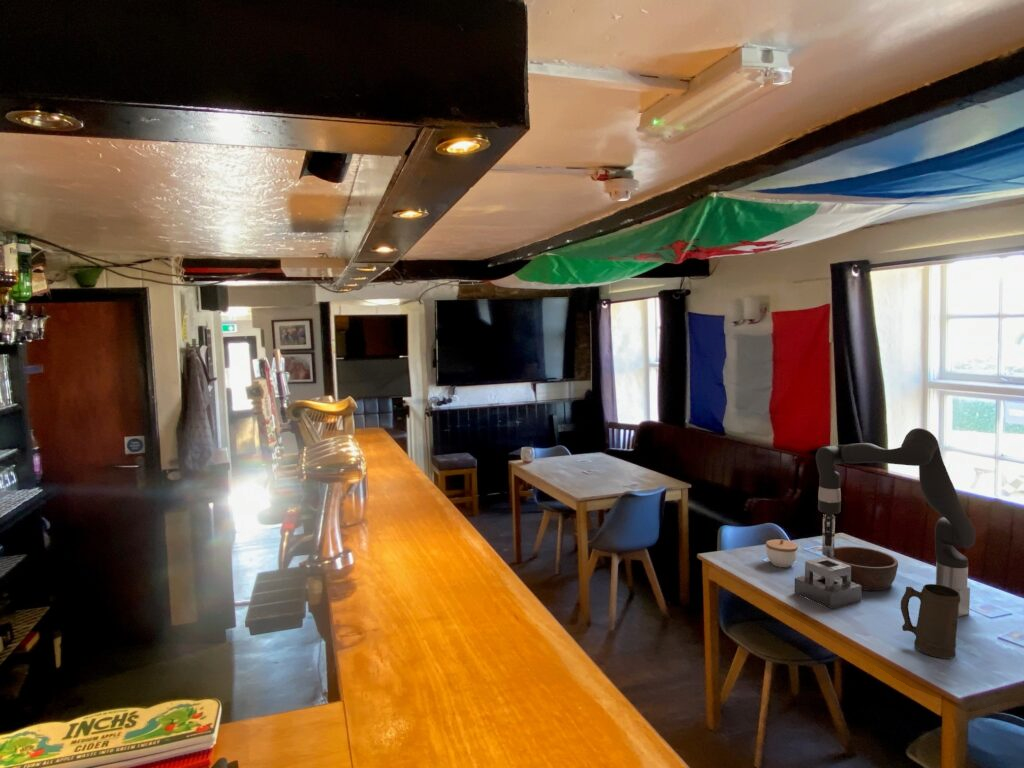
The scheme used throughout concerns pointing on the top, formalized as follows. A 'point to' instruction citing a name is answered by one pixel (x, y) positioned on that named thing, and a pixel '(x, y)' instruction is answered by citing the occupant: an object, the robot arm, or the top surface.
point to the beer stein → (933, 619)
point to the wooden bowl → (867, 566)
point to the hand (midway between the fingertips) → (828, 543)
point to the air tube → (828, 549)
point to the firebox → (828, 583)
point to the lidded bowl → (781, 552)
